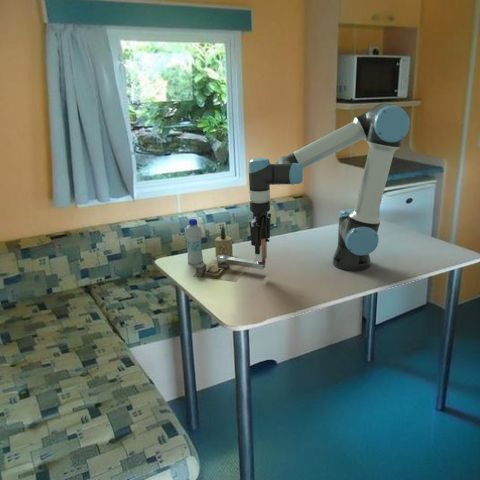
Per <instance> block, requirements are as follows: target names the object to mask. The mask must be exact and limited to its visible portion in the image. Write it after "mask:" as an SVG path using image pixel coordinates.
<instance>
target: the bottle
mask: <svg viewBox="0 0 480 480" xmlns="http://www.w3.org/2000/svg"><path fill="white" fill-rule="evenodd" d="M202 234H203V233H202V228H201V225H199V224H198V220H197V219H196V218H190V219H189V220H188V225H187V226H186V227H185V239H186V244H187V248H186V250H187V263H189V264H191V265H199V264H200V263H202V262H203V260H204V256H203V249H202V238H203V237H202V236H203V235H202Z"/></svg>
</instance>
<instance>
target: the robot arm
mask: <svg viewBox="0 0 480 480" xmlns="http://www.w3.org/2000/svg"><path fill="white" fill-rule="evenodd" d="M410 121H411V120H410V117H409V115H408V113H407V112H406V111H405V110H404V109H403V108H402V107H400V106H398V105H395V104H390V103H384V102H383V103H379V104H376V105H374V106H372V107H371V108H369V109H366V111H364V112H362V113H361V114H359V115H357V116H355V117H354V118H353V120H352V121H351V122H349V123H347V124H345V125H343V126H342V127H340V128H338V129H336V130H333V131H332V132H330V133H328V134H326V135H325V136H322V137H321V138H319V139H316V140H315V141H313V142H311V143H309V144H307V145H305V146H303V147H301V148H300V149H298V150H295V151H293V152H291V153H290V154H287V155H284V156H283V155H282V156H281V157H279V158H277V161H276V162H275V163H271V162H270V159H269V158H266V157H256V158H255V157H254V158H251V159H250V160H249V161H248V186H249V190H248V191H249V192H248V193H249V211H250V212H251V213H252V220H251V221H248V225H249V232H250V244H251V246H253V247H254V256H255V257H254V259H255V260H254V261H258V262H262V245H261V237H263V238H265V257H266V259H268V243H269V242H270V240H271V239H270V237H271V217H272V213H271V212H270V210H271V201H270V199H271V188H270V186H271V185H275V186H276V185H279V186H280V185H291V186H292V185H301V184H302V183H303V180H304V179H303V177H304V169H307V168H308V167H310V166H312V165H314V164H317V163H318V162H320V161H323V160H324V159H326V158H328V157H330V156H332V155H334V154H337V153H338V152H340V151H342V150H344V149H346V148H348V147H350V146H352V145H354V144H357V143H358V142H360V141H366V143H367V145H368V146H369V149H368V153H367V157H366V161H365V165H364V169H363V173H362V177H361V180H360V181H361V182H360V185H359V189H358V193H357V198H356V201H355V206H354V208H348V209H342V210H340V211H339V213H338V232H337V247H336V249H335V251H334V255H333V257H332V265H333V266H334V267H336V268H337V267H338V269H340V268H341V269H340V270H343V269H346V270H345V271H350V270H358V271H363V270H362V269H364V270H367V269H369V268H370V267H371V261H372V260H371V256H370V254H371V253H372V252H373V253H374V251H375V250H376V249H377V247H378V246H379V241H380V238H379V234H378V231H379V228H380V224H381V219H380V218H379V216H378V215H379V211H380V209H381V208H380V207H381V204H382V199H383V196H384V191H385V189H386V186H387V185H386V184H387V180H388V177H389V174H390V173H389V172H390V169H391V166H392V161H393V158H394V153H395V152H396V151H398V150H399V149H400V148H401V145H402V142H403V139H404V138H405V137H406V135H407V134H408V132H409V130H410V126H411V125H410V123H411V122H410ZM269 212H270V213H269ZM369 266H370V267H369ZM368 267H369V268H368ZM366 268H367V269H366Z"/></svg>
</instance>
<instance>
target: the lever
mask: <svg viewBox="0 0 480 480" xmlns="http://www.w3.org/2000/svg"><path fill="white" fill-rule="evenodd" d="M261 245H262V262H258V261H255V260H253V259H247V258H242V257H241V258H240V257H234V256H233V257H229V256H228V255H219V256H217V257H216V260H217V263H219V264H231V265H238V266H244V267H249V268H250V269H251V268H252V269H255V270H256V269H257V270H264V269H265V268H266V259H267V258H266V257H265V238H263V237H261Z"/></svg>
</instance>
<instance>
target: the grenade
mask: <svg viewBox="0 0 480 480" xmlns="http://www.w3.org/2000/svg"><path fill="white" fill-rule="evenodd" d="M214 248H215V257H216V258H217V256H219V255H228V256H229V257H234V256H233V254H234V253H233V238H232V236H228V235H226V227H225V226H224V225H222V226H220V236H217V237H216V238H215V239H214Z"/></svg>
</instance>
